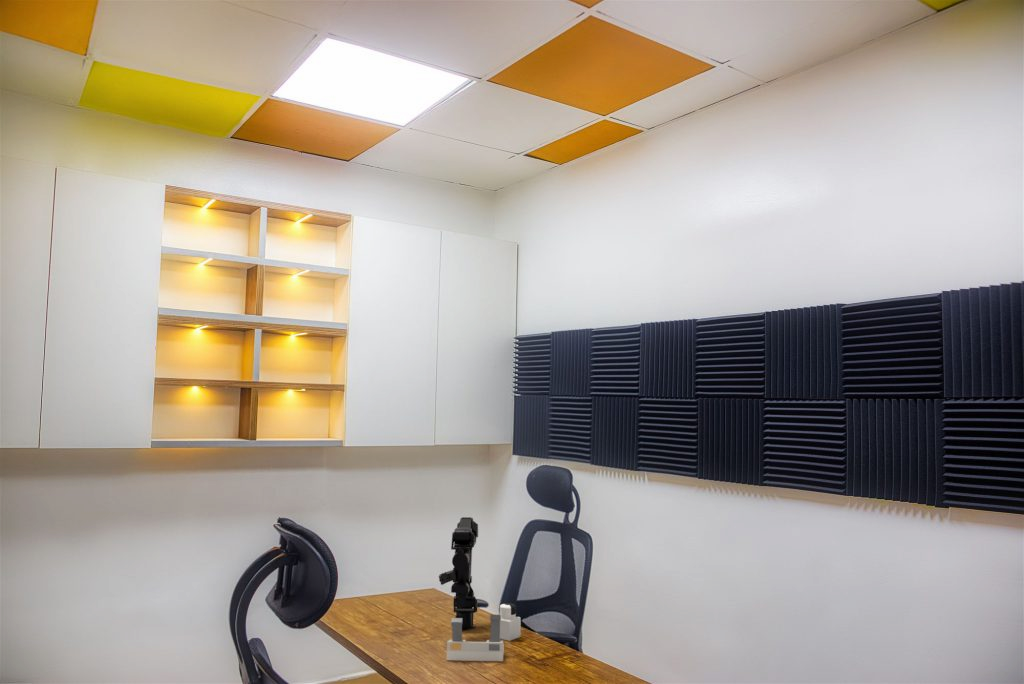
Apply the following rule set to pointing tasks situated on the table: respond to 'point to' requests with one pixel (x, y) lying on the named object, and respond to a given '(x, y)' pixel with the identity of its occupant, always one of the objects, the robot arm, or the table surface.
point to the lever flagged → (456, 629)
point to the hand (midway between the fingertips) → (461, 607)
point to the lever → (495, 628)
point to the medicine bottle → (509, 622)
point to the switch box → (475, 651)
